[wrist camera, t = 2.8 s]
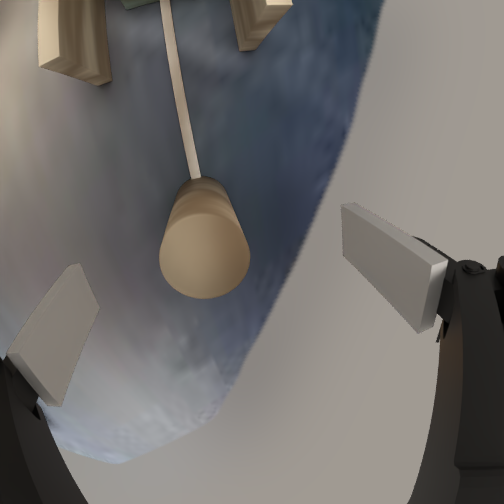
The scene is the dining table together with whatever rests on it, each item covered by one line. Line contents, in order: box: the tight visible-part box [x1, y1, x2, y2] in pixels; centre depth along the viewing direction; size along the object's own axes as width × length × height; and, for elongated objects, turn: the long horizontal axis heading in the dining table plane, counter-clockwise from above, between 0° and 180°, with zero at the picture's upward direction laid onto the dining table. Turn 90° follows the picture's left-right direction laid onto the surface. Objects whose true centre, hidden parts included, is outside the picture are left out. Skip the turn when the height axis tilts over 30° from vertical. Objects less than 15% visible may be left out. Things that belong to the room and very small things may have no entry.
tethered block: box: [121, 0, 250, 299], centre depth 12 cm, size 6×25×10 cm, turn 9°
